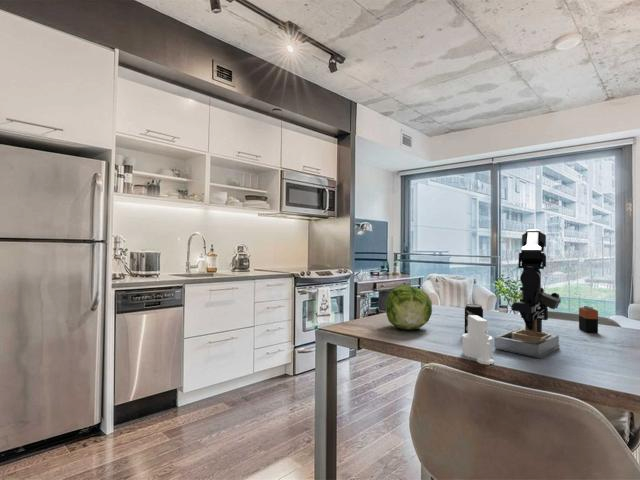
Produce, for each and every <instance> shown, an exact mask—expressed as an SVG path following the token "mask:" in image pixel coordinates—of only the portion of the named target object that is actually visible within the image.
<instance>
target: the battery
mask: <svg viewBox="0 0 640 480" xmlns="http://www.w3.org/2000/svg"><path fill="white" fill-rule="evenodd" d="M578 329H579V330H580V331H582V332H583V333H584V332H585V333H588V334H590V333H591V334H598V333H599V311H598V310H597V309H595V308H594V307H592V306H588V305H584V306H583V307H578Z"/></svg>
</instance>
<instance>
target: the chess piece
mask: <svg viewBox="0 0 640 480" xmlns="http://www.w3.org/2000/svg"><path fill="white" fill-rule="evenodd" d="M483 333H485V334H484V335H482V337H483V341H484V342H482V344H483V345H484V349H483V355H482V357H479V358H477V359H476V362H477V363H478V364H481V365H488V366H491V365H490V364H492V365H494V364H495V360H494V359H493V358H490V357H489V355H488V348H487V345H489V343H488V342H487V341H488V339H489V336H490V335H489V333H490V331H488V328H487V329H485V331H483ZM493 363H494V364H493Z"/></svg>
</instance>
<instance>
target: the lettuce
mask: <svg viewBox="0 0 640 480" xmlns="http://www.w3.org/2000/svg"><path fill="white" fill-rule="evenodd" d="M384 311H385V314H386V317H387V319H388V322H389V323H390V324H391V325H392V326H394V327H395V328H397V329H402V330H405V331H406V330H409V331H411V330H416V329H419V328H422V327H423V326H425V325H426V324H427V323H428V322H429V320H430V318H431V317H432V314H433V304H432V301H431V299H430V297H429V295H428V294H427V293H426V292H424V291H423V290H422V289H420V288H418V287H415V286H411V285H406V284H404V285H402V284H399V285H397V286H395V287H392V289H391V290H390V291H389V293H388V294H387V297H386V300H385V310H384Z"/></svg>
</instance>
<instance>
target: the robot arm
mask: <svg viewBox="0 0 640 480" xmlns="http://www.w3.org/2000/svg"><path fill="white" fill-rule="evenodd" d="M521 246H522V247H521V249H520V251H518V266H517V268H518V269H522V271H521V274H520V277H519V280H520V283H521V287H520V288H519V291H521V298H520V299H519V301H515V302H513V303H512V304H511V311H512V312H519V314H520V318H521V319H522V320H523V321H524V325H525V326H524V330H526V326H527V328H528V330H532V328H533V322H534V319H537V332H540V333H545V332H544V331H543V321H548V320H549V318H548V317H549V309H552V310H555V309H558V308H559V305H560V304H561V301H562V299H561V298H560V294H559V293H556V292H552V293H546V292H545V290H544V289H545V288H544V287H542V271H541V270H544V269H545V268H546V267H547V255H546V252H545V248H546V247H547V234H545V233H543V232H541V230H539V229H527V230H525V233H523V234H522V235H521ZM548 308H549V309H548Z"/></svg>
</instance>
